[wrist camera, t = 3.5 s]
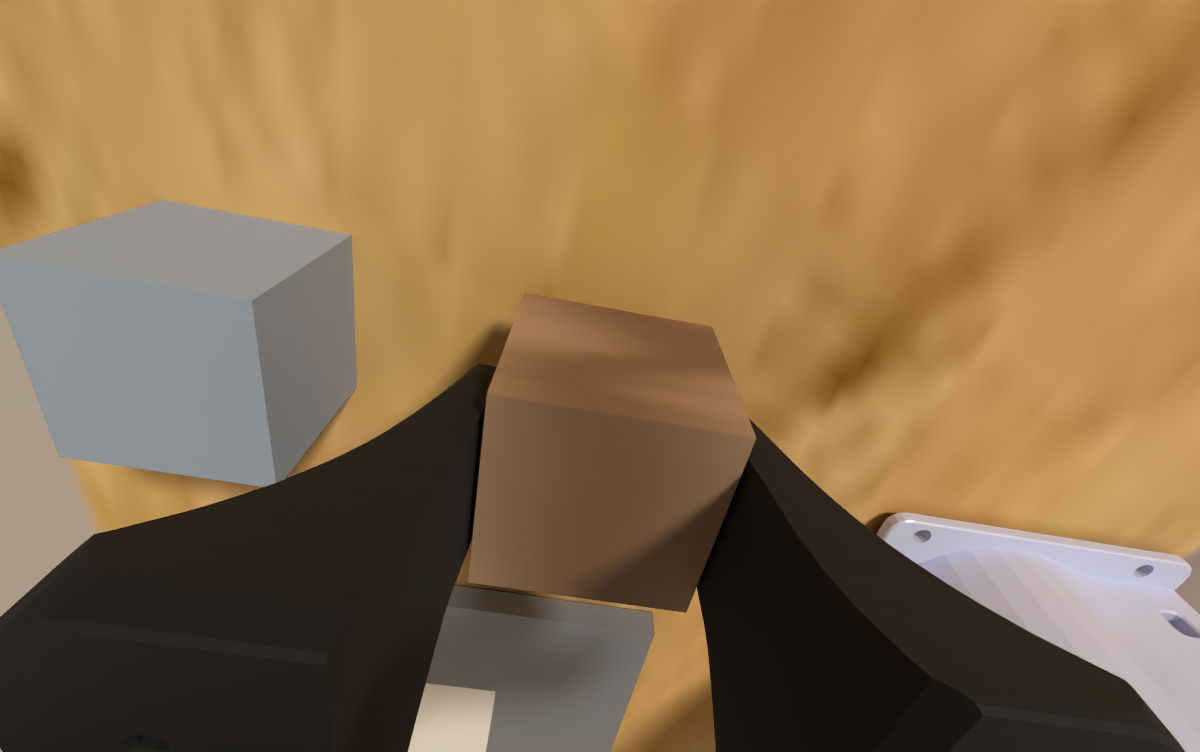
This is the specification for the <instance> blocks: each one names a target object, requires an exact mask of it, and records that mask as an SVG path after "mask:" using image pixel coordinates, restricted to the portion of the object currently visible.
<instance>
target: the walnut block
mask: <svg viewBox="0 0 1200 752" xmlns="http://www.w3.org/2000/svg"><path fill="white" fill-rule="evenodd" d="M755 440H756V436H755V433H754V431H753V428H752V426H751V423H750V421H749V418H748V416H747V413H746V411H745V408H744V406H743V403H742V401H741V398H740V396H739V393H738V391H737V388H736V386H735V383H734V381H733V378H732V376H731V373H730V371H729V368H728V366H727V363H726V361H725V358H724V356H723V353H722V351H721V348H720V346H719V343H718V341H717V338H716V336H715V333H714V331H713V328H712V327H709V326H704V325H698V324H693V323H687V322H682V321H676V320H671V319H665V318H659V317H654V316H648V315H643V314H637V313H632V312H626V311H621V310H615V309H610V308H604V307H599V306H593V305H588V304H582V303H577V302H571V301H565V300H560V299H554V298H549V297H543V296H538V295H532V294H527V293H524V296H523V299H522V301H521V304H520V307H519V309H518V312H517V315H516V317H515V320H514V323H513V325H512V328H511V331H510V333H509V336H508V339H507V341H506V344H505V347H504V349H503V352H502V355H501V357H500V360H499V363H498V365H497V368H496V371H495V373H494V376H493V378H492V381H491V384H490V386H489V389H488V392H487V397H486V407H485V417H484V427H483V437H482V447H481V457H480V467H479V477H478V487H477V497H476V507H475V517H474V527H473V537H472V546H471V556H470V566H469V576H468V582H469V583H476V584H483V585H490V586H497V587H505V588H512V589H519V590H526V591H534V592H541V593H548V594H555V595H563V596H570V597H577V598H584V599H592V600H599V601H606V602H613V603H621V604H628V605H635V606H642V607H650V608H657V609H664V610H671V611H679V612H687V609H688V607H689V604H690V602H691V599H692V597H693V594H694V592H695V589H696V587H697V584H698V582H699V579H700V577H701V574H702V572H703V569H704V567H705V565H706V562H707V560H708V557H709V555H710V552H711V550H712V547H713V545H714V542H715V540H716V537H717V535H718V532H719V530H720V527H721V525H722V522H723V520H724V517H725V515H726V512H727V510H728V507H729V505H730V502H731V500H732V498H733V495H734V493H735V490H736V488H737V485H738V483H739V480H740V478H741V475H742V473H743V470H744V468H745V465H746V463H747V460H748V458H749V455H750V453H751V450H752V448H753V445H754V443H755Z"/></svg>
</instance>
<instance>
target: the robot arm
mask: <svg viewBox="0 0 1200 752" xmlns="http://www.w3.org/2000/svg"><path fill="white" fill-rule="evenodd" d="M496 368H497V367H493V366H487V365H481V364H479V365H477V366H475V367H474V368H472V369H471V370H470V371H469V372H468V373H466V374H465V375H464V376H463V377H461V378H460V379H459V380H458V381H457V382H455V383H454V384H453V385H452V386H450V387H449V388H448V389H447V390H445V391H444V392H443V393H441V394H440V395H439V396H437V397H436V398H435V399H433V400H432V401H431V402H429V403H428V404H426V405H425V406H424V407H422V408H421V409H420V410H418V411H417V412H415V413H414V414H412V415H411V416H409V417H408V418H406V419H405V420H403V421H402V422H400V423H398V424H397V425H395V426H394V427H392V428H391V429H389V430H388V431H386V432H384V433H383V434H381V435H379V436H378V437H376V438H374V439H372V440H370V441H369V442H367V443H365V444H363V445H361V446H359V447H357V448H355V449H353V450H351V451H349V452H347V453H345V454H343V455H341V456H339V457H337V458H335V459H332V460H330V461H328V462H325V463H323V464H321V465H318V466H316V467H313V468H311V469H309V470H306V471H304V472H301V473H299V474H296V475H294V476H292V477H289V478H287V479H284V480H282V481H279V482H277V483H274V484H271V485H268V486H266V487H263V488H260V489H257V490H254V491H251V492H248V493H245V494H242V495H239V496H236V497H233V498H230V499H227V500H223V501H220V502H217V503H214V504H211V505H207V506H204V507H200V508H197V509H193V510H190V511H186V512H182V513H179V514H175V515H171V516H167V517H163V518H159V519H155V520H151V521H147V522H143V523H139V524H135V525H131V526H128V527H124V528H120V529H116V530H111V531H107V532H102V533H98V534H94V535H93V536H91V537H90V538H89V539H88V540H87V541H85V542H84V543H83V544H82V545H81V546H79V547H78V548H77V549H76V550H75V551H74V552H72V553H71V554H70V555H69V556H68V557H67V558H66V559H64V560H63V561H62V562H61V563H60V564H59V565H58V566H56V568H54V569H53V570H52V571H51V572H50V573H49V574H48V575H46V576H45V577H44V578H43V579H42V580H41V581H40V582H39V583H38V584H37V585H35V586H34V587H33V588H32V589H31V590H30V591H29V592H28V593H26V594H25V595H24V596H23V597H22V598H21V599H20V600H19V601H18V602H17V603H15V604H14V605H13V606H12V607H11V608H10V609H9V610H8V611H6V613H4V614H3V615H2V616H1V617H0V748H1V750H2V751H3V752H408V749H409V745H410V741H411V737H412V733H413V730H414V726H415V722H416V718H417V714H418V711H419V707H420V703H421V699H422V695H423V692H424V688H425V684H426V680H427V677H428V673H429V669H430V665H431V662H432V658H433V654H434V651H435V647H436V644H437V640H438V636H439V633H440V629H441V625H442V622H443V618H444V614H445V611H446V608H447V605H448V602H449V599H450V596H451V593H452V590H453V587H454V585H455V582H456V580H457V577H458V574H459V572H460V569H461V566H462V564H463V561H464V559H465V556H466V553H467V551H468V548H469V546H470V543H471V540H472V537H473V527H474V517H475V507H476V497H477V487H478V477H479V467H480V457H481V447H482V437H483V427H484V417H485V407H486V397H487V392H488V389H489V386H490V384H491V381H492V378H493V376H494V373H495V371H496ZM749 421H750V423H751V426H752V428H753V431H754V433H755V436H756V440H755V443H754V445H753V448H752V450H751V453H750V455H749V458H748V460H747V463H746V465H745V468H744V470H743V473H742V475H741V478H740V480H739V483H738V485H737V488H736V490H735V493H734V495H733V498H732V500H731V502H730V505H729V507H728V510H727V512H726V515H725V517H724V520H723V522H722V525H721V527H720V530H719V532H718V535H717V537H716V540H715V542H714V545H713V547H712V550H711V552H710V555H709V557H708V560H707V562H706V565H705V567H704V569H703V572H702V574H701V577H700V579H699V582H698V584H697V590H698V595H699V600H700V605H701V611H702V616H703V621H704V626H705V633H706V639H707V646H708V655H709V666H710V677H711V688H712V700H713V714H714V728H715V743H716V752H1200V615H1199V614H1198V613H1197V612H1196V611H1195V610H1194V609H1193V608H1192V607H1191V606H1190V605H1189V604H1187V603H1186V602H1185V601H1184V600H1183V599H1182V598H1181V597H1180V596H1179V595H1177V593H1176V592H1175V591H1174V590H1175V589H1176V588H1177V587H1179V586H1180V585H1181V584H1182V583H1183V582H1184V581H1185V580H1186V579H1187V578H1188V577H1189V575H1190V574H1191V567H1190V565H1189V564H1188V563H1187V562H1185V561H1184V560H1183V559H1182V558H1181V557H1179V556H1176V555H1172V554H1166V553H1159V552H1153V551H1147V550H1140V549H1134V548H1128V547H1122V546H1115V545H1109V544H1103V543H1096V542H1090V541H1084V540H1077V539H1071V538H1065V537H1058V536H1052V535H1046V534H1039V533H1033V532H1027V531H1020V530H1014V529H1008V528H1002V527H995V526H989V525H983V524H976V523H970V522H964V521H957V520H951V519H945V518H938V517H932V516H926V515H919V514H913V513H896V514H893V515H891V516H890V517H888V518H887V519H886V520H885V521H884V522H883V524H882V526H881V527H880V529H879V531H878V532H877V534H875V533H874V532H872V531H871V530H870V529H868V528H867V527H866V526H864V525H863V524H862V523H861V522H859V521H858V520H857V519H855V518H854V517H853V516H852V515H851V514H849V513H848V512H847V511H846V510H845V509H843V508H842V507H841V506H840V505H839V504H838V503H836V502H835V501H834V500H833V499H832V498H831V497H830V496H829V495H827V494H826V493H825V492H824V491H823V490H822V489H821V488H819V487H818V486H817V485H816V484H815V483H814V482H813V481H812V480H811V479H810V478H809V477H808V476H807V475H805V474H804V473H803V472H802V471H801V470H800V469H799V468H798V467H797V466H796V465H795V464H794V463H793V462H792V461H791V460H790V459H789V458H788V457H787V456H786V455H785V454H784V453H783V452H782V451H781V450H780V449H779V448H778V447H777V446H776V445H775V444H774V443H773V442H772V441H771V440H770V439H769V438H768V437H767V436H766V435H765V434H764V433H763V432H762V431H761V430H760V429H759V428H758V427H757V426H756V425H755V424H754V423H753V422H752V421H751V420H750V419H749ZM920 530H921V531H920ZM918 531H919V532H918ZM916 532H917V533H916Z"/></svg>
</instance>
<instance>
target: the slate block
mask: <svg viewBox="0 0 1200 752" xmlns="http://www.w3.org/2000/svg"><path fill="white" fill-rule="evenodd" d="M0 300H1V303H2V306H3V308H4V311H5V314H6V316H7V319H8V322H9V324H10V327H11V330H12V332H13V335H14V338H15V340H16V343H17V346H18V348H19V351H20V354H21V356H22V359H23V362H24V364H25V367H26V370H27V372H28V375H29V378H30V380H31V383H32V386H33V388H34V391H35V394H36V396H37V399H38V402H39V404H40V407H41V410H42V412H43V415H44V418H45V420H46V423H47V426H48V428H49V431H50V433H51V436H52V439H53V442H54V444H55V447H56V450H57V452H58V455H59V457H63V458H70V459H77V460H83V461H90V462H97V463H104V464H110V465H117V466H124V467H131V468H138V469H144V470H151V471H158V472H165V473H171V474H178V475H185V476H192V477H199V478H205V479H212V480H219V481H226V482H233V483H239V484H246V485H253V486H260V487H266V486H268V485H271V484H274V483H277V482H279V481H282V480H284V479H285V478H286V477H287V475H288V474H289V473H290V471H291V470H292V469H293V468H294V466H295V465H296V464H297V462H298V461H299V460H300V459H301V457H302V456H303V455H304V454H305V452H306V451H307V450H308V448H309V447H310V446H311V445H312V443H313V442H314V441H315V440H316V438H317V437H318V436H319V434H320V433H321V432H322V431H323V429H324V428H325V427H326V425H327V424H328V423H329V422H330V420H331V419H332V418H333V417H334V415H335V414H336V413H337V411H338V410H339V409H340V408H341V406H342V405H343V404H344V403H345V401H346V400H347V399H348V397H349V396H350V395H351V394H352V392H353V391H354V390H355V388H356V387H357V378H356V349H355V320H354V291H353V262H352V235H349V234H343V233H338V232H333V231H327V230H322V229H317V228H311V227H306V226H301V225H295V224H290V223H284V222H279V221H274V220H268V219H263V218H258V217H252V216H247V215H242V214H236V213H231V212H225V211H220V210H215V209H209V208H204V207H199V206H193V205H188V204H183V203H177V202H172V201H167V200H161V201H158V202H155V203H151V204H148V205H145V206H141V207H138V208H135V209H131V210H128V211H125V212H121V213H118V214H115V215H111V216H108V217H105V218H101V219H98V220H95V221H91V222H88V223H85V224H81V225H78V226H75V227H71V228H68V229H65V230H61V231H58V232H55V233H51V234H48V235H45V236H41V237H38V238H35V239H31V240H28V241H25V242H21V243H18V244H15V245H11V246H8V247H4V248H1V249H0Z"/></svg>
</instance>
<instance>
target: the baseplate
mask: <svg viewBox="0 0 1200 752" xmlns="http://www.w3.org/2000/svg"><path fill="white" fill-rule="evenodd" d="M653 636H654V624H653V612H646V611H639V610H632V609H624V608H617V607H610V606H602V605H595V604H588V603H581V602H573V601H566V600H559V599H551V598H544V597H537V596H529V595H522V594H515V593H508V592H500V591H493V590H486V589H478V588H471V587H464V586H456V585H454V587H453V590H452V593H451V596H450V599H449V602H448V605H447V608H446V611H445V614H444V618H443V622H442V625H441V629H440V633H439V636H438V640H437V644H436V647H435V651H434V654H433V658H432V662H431V665H430V669H429V673H428V677H427V680H426V684H425V688H424V692H423V695H422V699H421V703H420V707H419V711H418V714H417V718H416V722H415V726H414V730H413V733H412V737H411V741H410V745H409V749H408V752H610V751H611V748H612V745H613V743H614V740H615V737H616V735H617V732H618V729H619V727H620V724H621V721H622V719H623V716H624V713H625V711H626V708H627V705H628V703H629V700H630V697H631V695H632V692H633V689H634V687H635V684H636V682H637V679H638V676H639V674H640V671H641V668H642V666H643V663H644V660H645V658H646V655H647V652H648V650H649V647H650V644H651V642H652V639H653Z"/></svg>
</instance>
